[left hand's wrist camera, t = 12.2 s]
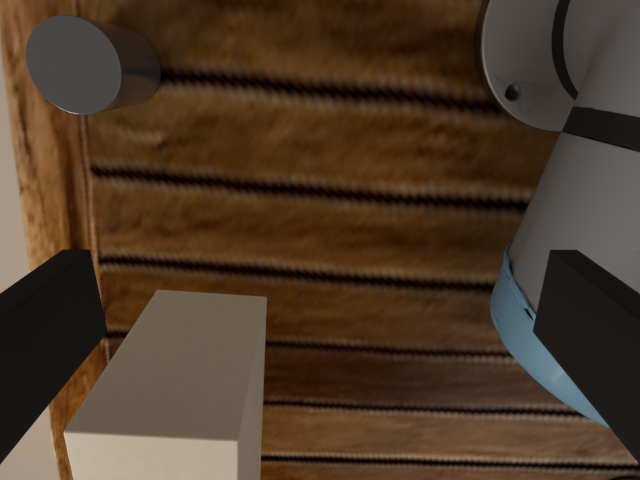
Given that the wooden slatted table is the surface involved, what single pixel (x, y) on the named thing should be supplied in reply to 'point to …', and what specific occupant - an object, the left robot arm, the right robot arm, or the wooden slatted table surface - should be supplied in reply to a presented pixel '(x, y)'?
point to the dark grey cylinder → (91, 64)
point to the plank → (178, 395)
